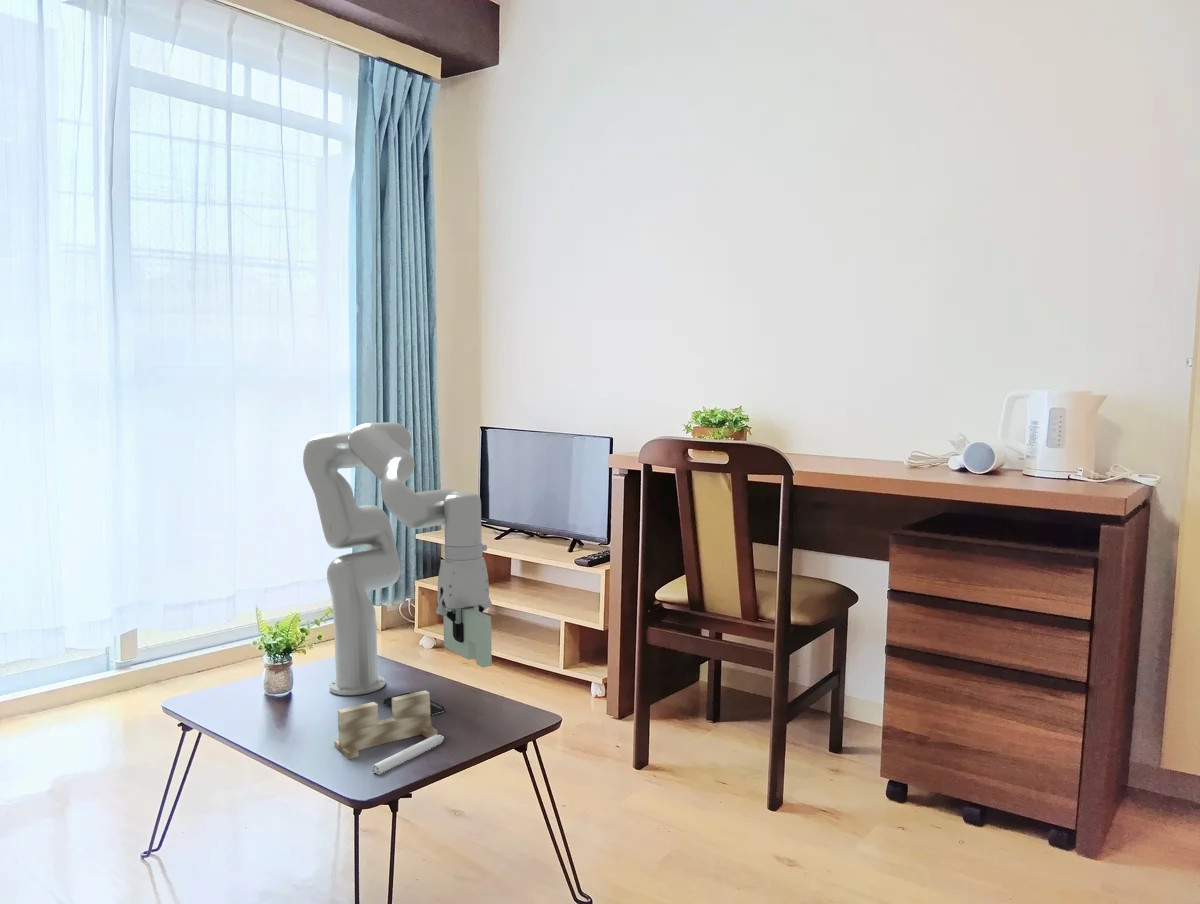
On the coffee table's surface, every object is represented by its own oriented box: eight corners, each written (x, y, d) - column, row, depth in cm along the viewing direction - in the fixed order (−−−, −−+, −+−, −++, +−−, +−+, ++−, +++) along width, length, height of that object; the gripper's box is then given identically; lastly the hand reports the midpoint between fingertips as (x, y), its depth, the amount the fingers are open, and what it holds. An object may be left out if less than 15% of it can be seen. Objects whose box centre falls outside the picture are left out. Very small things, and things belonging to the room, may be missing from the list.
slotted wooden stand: (348, 759, 162) (346, 717, 162) (334, 746, 169) (332, 705, 168) (437, 736, 173) (435, 696, 172) (421, 724, 179) (419, 686, 179)
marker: (439, 740, 171) (439, 729, 171) (447, 742, 170) (447, 731, 170) (371, 774, 156) (371, 762, 156) (379, 777, 155) (379, 764, 155)
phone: (413, 691, 198) (446, 708, 187) (413, 696, 198) (446, 713, 187) (381, 699, 193) (413, 717, 182) (381, 704, 193) (413, 722, 182)
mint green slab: (491, 665, 174) (490, 616, 174) (482, 667, 173) (481, 618, 173) (452, 644, 189) (451, 599, 188) (443, 646, 188) (443, 600, 187)
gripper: (489, 546, 188) (490, 629, 189) (420, 554, 179) (421, 642, 180) (506, 551, 182) (507, 637, 183) (435, 560, 173) (437, 651, 174)
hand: (464, 639), depth 182 cm, fingers closed on mint green slab, 2 cm apart
